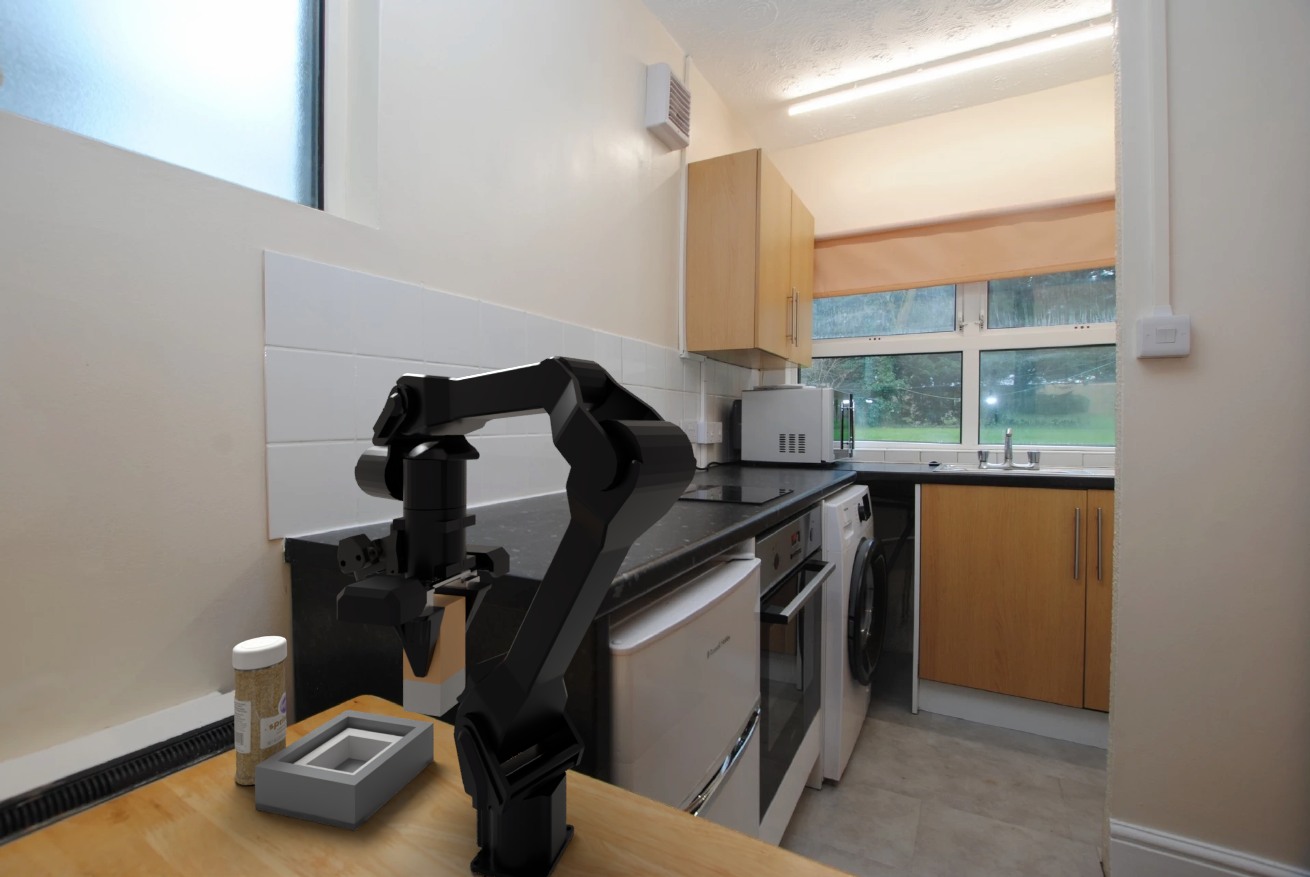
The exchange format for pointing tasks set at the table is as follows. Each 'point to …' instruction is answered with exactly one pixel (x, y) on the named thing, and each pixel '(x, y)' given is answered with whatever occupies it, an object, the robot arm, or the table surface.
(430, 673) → the block
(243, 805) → the table surface
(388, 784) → the inlet box
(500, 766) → the robot arm
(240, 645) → the sprinkles bottle
